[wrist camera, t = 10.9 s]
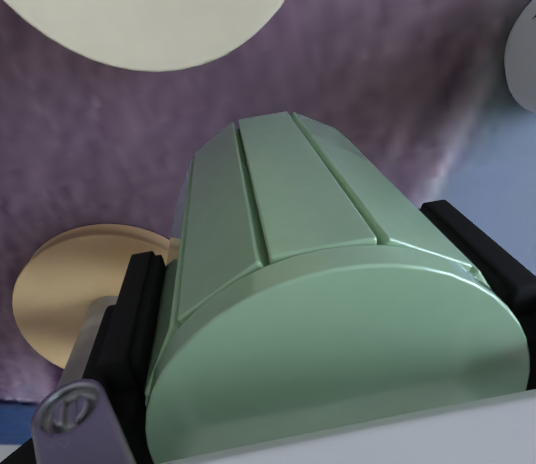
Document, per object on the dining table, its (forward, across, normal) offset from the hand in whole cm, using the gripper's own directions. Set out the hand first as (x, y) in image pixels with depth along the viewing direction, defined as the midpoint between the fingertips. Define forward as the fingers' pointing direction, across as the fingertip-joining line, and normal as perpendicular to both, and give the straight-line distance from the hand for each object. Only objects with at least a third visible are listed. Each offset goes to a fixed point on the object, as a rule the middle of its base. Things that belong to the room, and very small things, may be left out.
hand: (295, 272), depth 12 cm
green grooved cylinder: (+4, 0, 0) cm, 4 cm away
